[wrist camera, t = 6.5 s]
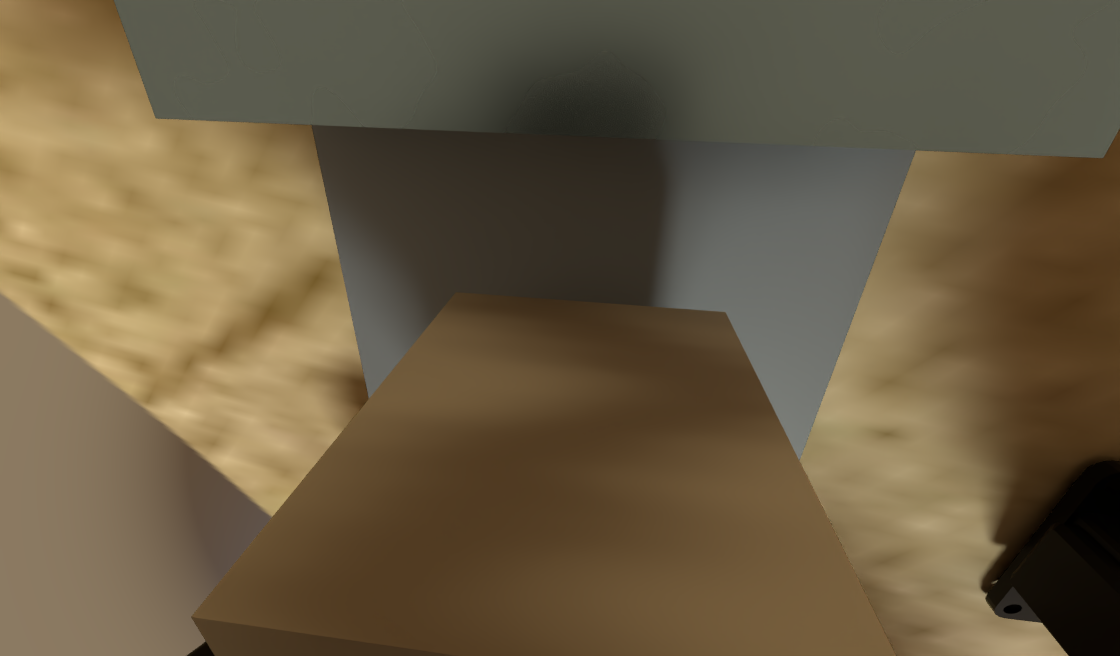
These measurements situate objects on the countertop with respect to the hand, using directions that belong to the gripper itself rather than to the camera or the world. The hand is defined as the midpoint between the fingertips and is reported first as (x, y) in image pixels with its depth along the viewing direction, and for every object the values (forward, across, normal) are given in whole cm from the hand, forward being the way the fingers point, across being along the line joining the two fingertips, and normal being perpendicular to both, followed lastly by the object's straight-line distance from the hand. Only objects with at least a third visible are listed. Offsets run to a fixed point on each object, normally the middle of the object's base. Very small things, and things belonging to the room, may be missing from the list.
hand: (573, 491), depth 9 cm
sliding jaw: (+3, 0, -12) cm, 12 cm away
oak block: (+1, 0, 0) cm, 1 cm away
